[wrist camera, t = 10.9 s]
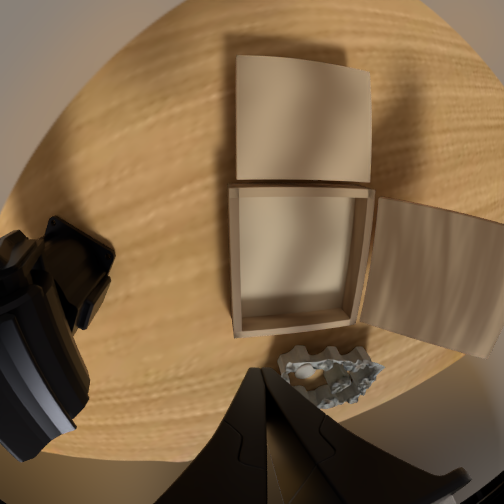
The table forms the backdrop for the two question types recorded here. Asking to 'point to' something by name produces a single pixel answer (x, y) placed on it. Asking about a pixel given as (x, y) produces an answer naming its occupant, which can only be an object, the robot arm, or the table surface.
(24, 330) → the robot arm
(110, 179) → the table surface
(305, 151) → the carton
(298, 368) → the egg carton
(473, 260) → the flap
